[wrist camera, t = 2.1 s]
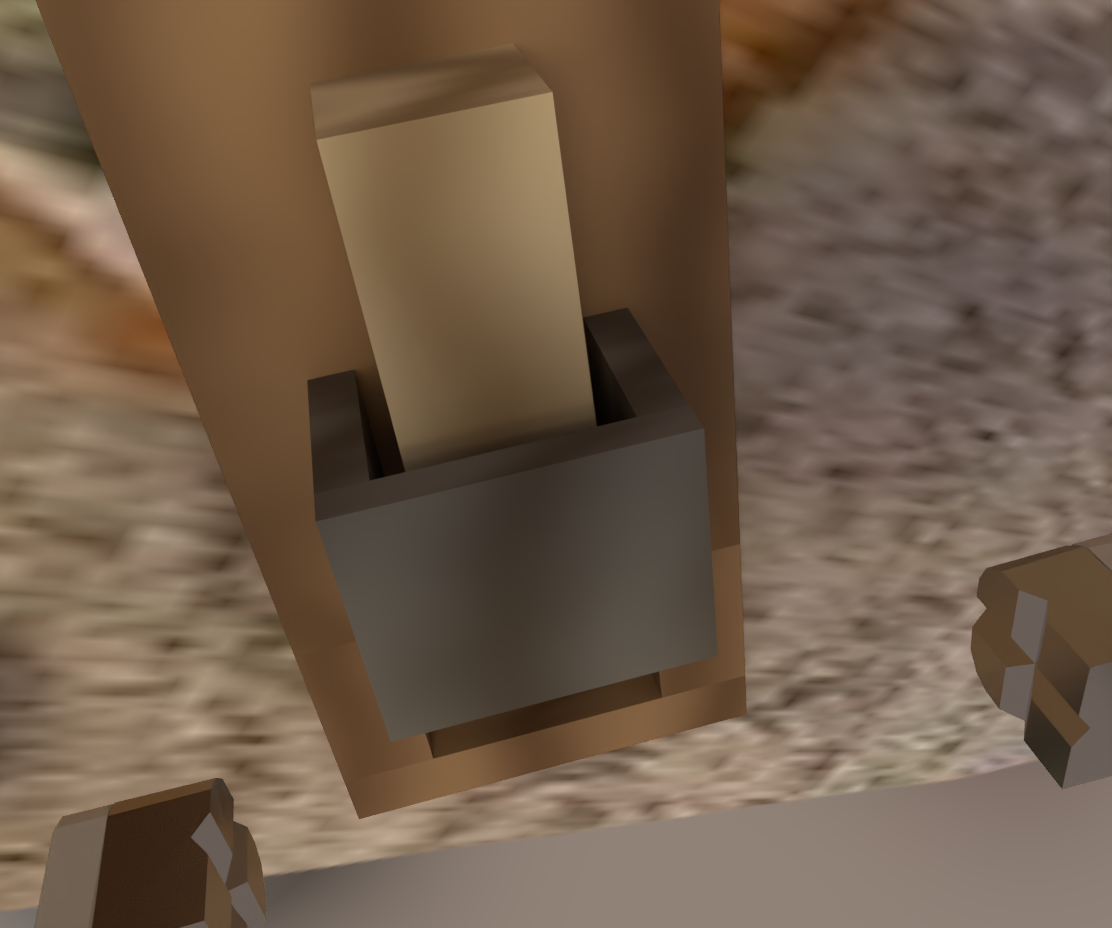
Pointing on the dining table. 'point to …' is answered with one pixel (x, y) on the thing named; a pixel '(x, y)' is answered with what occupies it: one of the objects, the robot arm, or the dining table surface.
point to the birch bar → (459, 250)
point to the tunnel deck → (359, 401)
